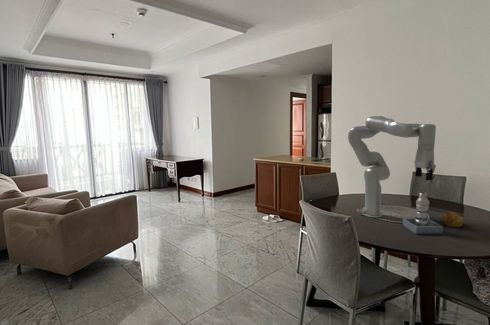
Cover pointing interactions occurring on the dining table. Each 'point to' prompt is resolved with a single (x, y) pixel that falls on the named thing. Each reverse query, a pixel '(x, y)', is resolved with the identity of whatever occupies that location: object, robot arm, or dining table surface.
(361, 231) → the dining table surface
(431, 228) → the tray
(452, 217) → the bread roll
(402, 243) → the dining table surface
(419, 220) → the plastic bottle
